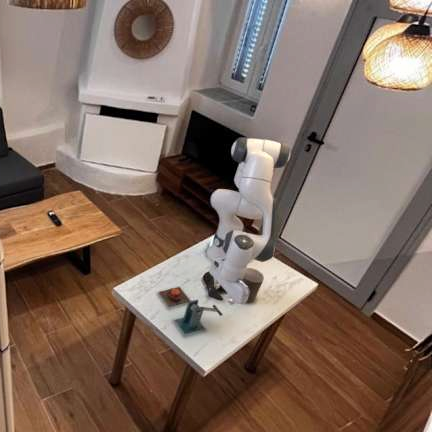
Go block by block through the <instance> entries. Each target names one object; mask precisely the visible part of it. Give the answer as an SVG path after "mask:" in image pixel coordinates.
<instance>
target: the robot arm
mask: <svg viewBox="0 0 432 432" xmlns="http://www.w3.org/2000/svg"><path fill="white" fill-rule="evenodd" d="M230 154H231V158H232V159H233V161H235V162H237V163H238V166H237V169H236V172H235V175H234V178H233V182H234V185H235V186H236V188H238V191H235V190H231V189H225V188H218V189H216V190H214V192H212V194H211V196H210V205H211V207H212V208H213V209H214V210H215V211H216V213H217V215H218V219H219V222H218V226H217V230H216V231H215V233H214V236H213V237H212V238H211V242H209V244H208V248H207V250H206V256H207V257H208V259H209V260H210V261H212V262H211V264H210V265H209V268H208V272H209V274H210V275H211V276H212V277H213V282H214V283H213V284H214V287H215V288H216V289H217V288H219V287H221V288H223V290H224V291H225V292H226V293H227V294H228V295H229V296H230V298H229V299H228V301H227V303H228V304H229V305H230V306H231V305H234V304H235V303H236V304H237V305H245V304H247V303H246V302H247V300H248V297H249V292H250V291H249V289H248V286H247V285H246V284H245V283H244V282H243V281H242V279H243V277H244V275H245V272H246V270H247V268H248V265H249V264H250V262H251V260H254V261H258V262H261V263H263V262H267V261H269V260H271V259H272V258H273V257H274V255H275V250H276V243H275V240H276V239H275V237H276V235H275V234H276V223H277V222H276V221H277V200H276V197H274V196H273V195H272V191H271V184H272V180H273V175H274V169H281V168H283V167H286V165H287V163H288V162H289V160H290V158H291V148H290V146H289V145H288V144H286V143H285V142H278V141H274V140H271V139H270V140H269V139H266V138H264V139H262V138H254V137H253V138H251V137H250V138H248V137H247V136H246V137H245V136H244V137H242V136H241V137H238V138H237V139H236V140H235V141H234V142H233V144H232V146H231V150H230ZM239 217H241V218H246V219H249V220H258V221H259V220H262V219H263V220H262V234H260V235H259V234H254V233H249V232H246V231H243V230H244V223H243V222H242V220H241V219H240V218H239ZM219 289H220V288H219Z"/></svg>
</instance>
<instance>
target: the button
mask: <svg viewBox="0 0 432 432" xmlns="http://www.w3.org/2000/svg"><path fill="white" fill-rule="evenodd" d="M171 289H172V288H171ZM179 293H180V291H179V290H178V289H172V291H171V295H172V296H174V297H177V296H179Z"/></svg>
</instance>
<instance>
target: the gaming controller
mask: <svg viewBox="0 0 432 432" xmlns="http://www.w3.org/2000/svg"><path fill="white" fill-rule="evenodd" d="M214 284H215V283H210V284H208V285H207V286H206V287H207V294H208V297H209V298H211V299H214V300H216V301H221V302H222V301H224V298H223V296H222V295H221V294H220V292H219V291H220V290H219V289H221V288H222V286H220V287H219V288H217V289H216V288H215V287H214Z"/></svg>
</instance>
